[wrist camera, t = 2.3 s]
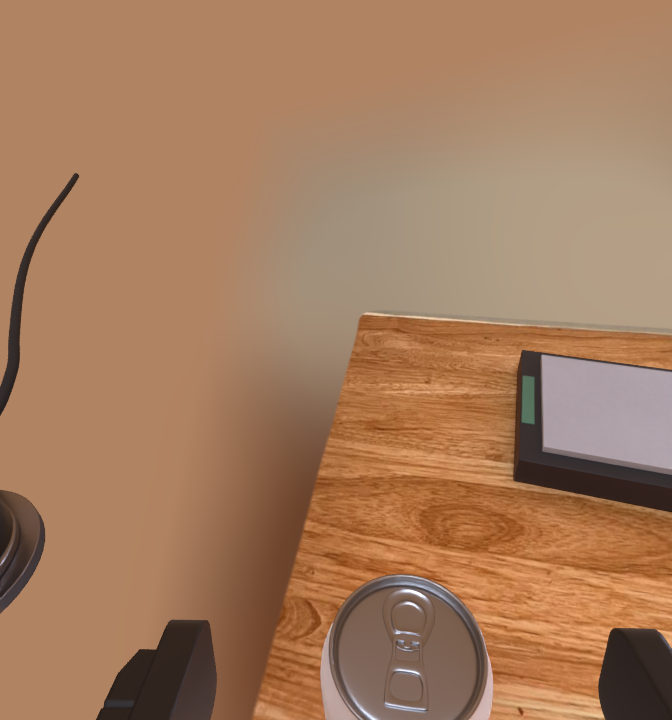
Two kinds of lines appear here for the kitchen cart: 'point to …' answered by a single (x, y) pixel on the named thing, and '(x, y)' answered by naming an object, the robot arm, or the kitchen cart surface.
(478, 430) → the kitchen cart surface
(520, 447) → the scale
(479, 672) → the can
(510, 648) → the kitchen cart surface
